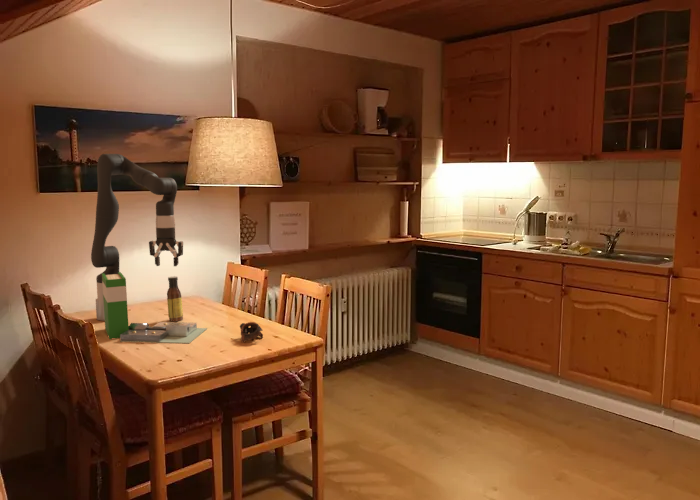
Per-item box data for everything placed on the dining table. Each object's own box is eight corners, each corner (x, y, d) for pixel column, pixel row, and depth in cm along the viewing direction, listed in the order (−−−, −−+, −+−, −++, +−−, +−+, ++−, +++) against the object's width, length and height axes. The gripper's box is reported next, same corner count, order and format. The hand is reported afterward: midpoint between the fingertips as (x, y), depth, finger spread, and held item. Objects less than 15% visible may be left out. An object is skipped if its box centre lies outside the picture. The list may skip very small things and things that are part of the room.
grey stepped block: (118, 340, 235) (117, 329, 234) (131, 332, 247) (131, 321, 246) (161, 341, 233) (161, 330, 233) (173, 333, 245) (172, 322, 245)
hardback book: (105, 328, 253) (101, 273, 250) (123, 326, 257) (120, 272, 253) (109, 339, 238) (105, 280, 234) (129, 336, 241) (125, 278, 238)
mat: (119, 341, 234) (119, 341, 234) (143, 327, 256) (143, 326, 256) (189, 343, 232) (189, 342, 232) (207, 328, 254) (207, 328, 254)
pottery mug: (269, 339, 239) (266, 325, 234) (252, 354, 234) (248, 339, 229) (249, 327, 246) (245, 313, 241) (232, 341, 240) (228, 327, 235)
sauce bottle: (185, 318, 271) (183, 275, 269) (179, 322, 265) (178, 278, 262) (171, 318, 272) (169, 275, 269) (165, 321, 266) (164, 278, 263)
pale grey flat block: (148, 335, 242) (147, 324, 241) (160, 327, 254) (159, 317, 253) (186, 336, 240) (186, 325, 240) (196, 328, 252) (196, 318, 252)
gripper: (144, 226, 242) (146, 267, 244) (179, 227, 241) (180, 267, 243) (152, 225, 249) (153, 264, 251) (185, 225, 248) (186, 264, 250)
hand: (166, 265), depth 247 cm, fingers open, 7 cm apart
